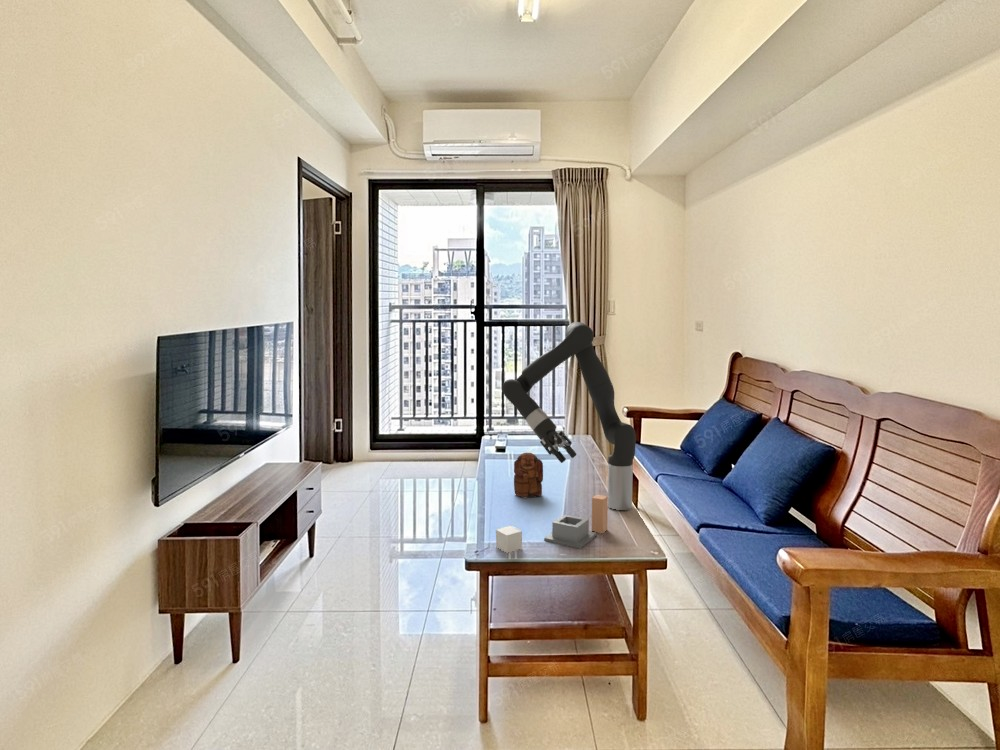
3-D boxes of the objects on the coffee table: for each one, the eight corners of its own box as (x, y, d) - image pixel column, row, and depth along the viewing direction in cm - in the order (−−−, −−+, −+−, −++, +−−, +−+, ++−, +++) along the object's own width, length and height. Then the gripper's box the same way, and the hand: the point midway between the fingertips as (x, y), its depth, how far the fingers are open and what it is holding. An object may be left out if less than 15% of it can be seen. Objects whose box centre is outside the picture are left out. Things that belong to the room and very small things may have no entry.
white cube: (510, 543, 188) (510, 525, 187) (522, 549, 183) (522, 531, 182) (495, 547, 184) (495, 529, 183) (507, 553, 179) (506, 535, 179)
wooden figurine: (515, 498, 234) (515, 455, 232) (513, 493, 240) (513, 451, 238) (544, 497, 235) (544, 454, 233) (541, 492, 241) (541, 450, 239)
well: (544, 540, 189) (544, 523, 189) (562, 528, 200) (562, 511, 199) (580, 548, 182) (580, 530, 182) (596, 535, 193) (596, 518, 192)
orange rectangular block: (591, 531, 197) (592, 497, 196) (596, 527, 200) (596, 494, 199) (602, 533, 195) (602, 499, 194) (607, 530, 198) (607, 496, 197)
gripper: (537, 420, 199) (567, 456, 194) (556, 414, 211) (584, 448, 206) (524, 433, 202) (553, 469, 197) (543, 427, 214) (571, 461, 209)
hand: (569, 458), depth 201 cm, fingers open, 8 cm apart
